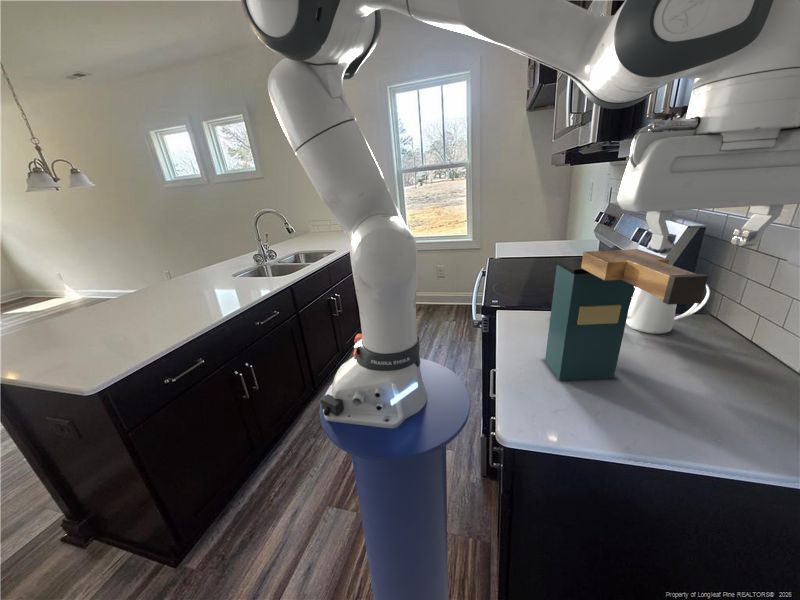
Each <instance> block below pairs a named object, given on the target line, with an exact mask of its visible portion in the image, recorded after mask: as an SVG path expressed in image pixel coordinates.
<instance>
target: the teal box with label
mask: <svg viewBox="0 0 800 600" xmlns="http://www.w3.org/2000/svg"><path fill="white" fill-rule="evenodd" d="M582 258H583V257H568V258H555V261H554V263H555V265H556V268H555V270H556V271H555V276H554V278H555V279H554V285H553V293H552V294H553V295H552V301H551V310H550V318H549V325H548V326H549V327H548V333H547V342H546V350H545V359H544V361H545V363H546V364H547V366H548V367H549V368H550V370H551V372H553V374H554V375H555V377H556V378H557V379H558V380H559V381H572V380H573V381H577V380H601V379H602V380H605V379H615V374H616V370H617V365H618V361H619V355H620V351H621V346H622V343H623V337H624V333H625V329H626V324H627V323H626V320H627V315H628V311H629V306H630V303H631V300H632V297H633V294H634V287H635V286H634V285H632V284H629V283H627V282H625V281H623V280H603V279H601V278H599V277H597V276H595V275H593V274H591V273H590V272H588V271H586V270H584V269H582V268H581V265H582Z"/></svg>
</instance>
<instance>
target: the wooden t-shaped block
mask: <svg viewBox="0 0 800 600" xmlns="http://www.w3.org/2000/svg"><path fill="white" fill-rule="evenodd" d="M581 258H582V265H581V268H582V269H584V270H586V271H588V272H590V273H591V274H593V275H595V276H597V277H599V278H601V279H603V280H623V281H625V282H627V283H629V284H632V285H634V287H635V288H636V287H638V288H640V289H642V290H644V291H646V292H648V293H650V294H652V295H654V296H656V297H658V298H660V299H662V300H663V302H664V303H666V304H668V305H669V304H677V305H687V304H690V305H691V304H695V303H699V304H701V303H702V299H703V295H704V293H705V289H706V284H708V283H707V282H708V279H709V275H707V274H705V273H695V272H692V271H689V270H686V269H683V268H681V267H677V266H674V265H672V264H669V263H670V258H666V257H663V256H660V255H657V254H654V253H651V252H649V251H645V250H642V249H639V248H632V249H612V250H611V249H610V250H593V251H583V253H582V257H581Z"/></svg>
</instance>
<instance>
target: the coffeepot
mask: <svg viewBox="0 0 800 600" xmlns="http://www.w3.org/2000/svg"><path fill="white" fill-rule="evenodd" d="M705 289H706V293H705V296H704V299H703V300H701V303H693V305H692V306H691V307H690V308H689V309H688V310H687V311H684V313H682V314H680V315H677V316H676V311H677V310H676V309H677V306H678V304H669V305H668V304H666V303H664V302H663V300H662V299H660V298H658V297H656V296H654V295H652V294H650V293H648V292H646V291H644V290H642V289H640V288H638V287H636V286H635V289H634V290H633V293H632V297H631V302H630V306H629V311H628V315H627V320H626V324H627V326H629V327H630V328H631V329H633V330H636V331H638V332H641V333H647V334H653V335H660V334H661V335H662V334H667V333H669V332H671V331H672V330H673V328H674V322H675V321H678V320H680V319H681V320H682V319H684V318H688V317H689V316H691V315H694V314H695V313H697V312H698V311H700V310H701V309H702V308H703V307H704V306H705V305H706V303H707V302H708V301H709V299H710V297H711V296H710V295H711V288H710V286H709V285H708V283H706V286H705Z"/></svg>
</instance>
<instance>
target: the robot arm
mask: <svg viewBox="0 0 800 600" xmlns="http://www.w3.org/2000/svg"><path fill="white" fill-rule="evenodd" d="M240 2H241V6H242V9H243V13H244V15H245V18H246V20H247V22H248V25H249V26H250V28H251V29H252V31H253V33H254V34H255V36H256V37H257V38H258V39H259V41H261V42H262V43H263V44H264V45H265V46H266V47H267V48H268V49H270V50H271V51H273V52H274V53H276V54H277V55H280V56H281V57H283V58H282V59H281V60H280V61H278V63H276V64H275V65H274V66H273V68H272V69H271V70H270V73H269V75H268V78H267V79H268V80H267V92H268V95H269V98H270V102H271V105H272V107H273V110H274V112H275V115H276V117H277V119H278V122H279V124H280V126H281V129H282V131H283V133H284V135H285V137H286V139H287V141H288V143H289V145H290V147H291V148H292V149H291V150H292V151H293V152H294V153H295V156H296V158H297V159H298V161H299V163H300V165H301V167H302V168H303V170H304V172H305V174H306V176H307V177H308V179H309V180H310V183H311V184H312V186H313V188H314V189H315V191H316V193H317V195H318V197H319V198H320V200H321V202H322V203H323V204H324V205H325V206H326V208H327V210H328V211H329V212H330V213H331V214H332V216H333V217H334V219H335V221H336V222H337V223H338V225H339V226H340V228H341V230H342V231H343V232H344V234H345V236H346V237H347V239H348V241H349V243H350V246H349V256H350V257H349V258H350V265H351V271H352V277H353V283H354V289H355V290H354V291H355V296H356V301H357V305H358V312H359V321H360V330H361V333H357V334H356V335H355V337H354V340H353V341H354V345H353V356H352V357H351V358H349V359H348V360H346V361H345V362H344V363H343V364H341V365H340V367H338V369H337V371H336V373H335V375H334V378H333V381H332V383H333V384H332V383H331V384H332V385H331V384H330V385H331V386H330V385H329V386H328V388H329V389H328V388H327V389H328V391H327V390H326V391H327V393H326V395H325V396H324V395H323V396H324V397H323V396H322V398H320V405H322V409H323V414H324V417H325V419H326V420H327V421H333V422H341V423H349V424H358V425H366V426H375V427H383V428H391V429H393V428H397V427H398V426H399V425H400V424H401V423H402V422H403V421H404V420H405V419H406V418H408V417H410V416H412V415H414V414H416V413H417V412H418V411H420V410H421V409H422V408H423V407H424V405H425V404H426V401H427V397H428V395H427V391H426V388H425V386H424V383H423V379H422V375H421V370H420V361H421V359H422V351H421V342H420V337H419V335H418V324H417V290H418V289H417V288H418V244H417V240H416V238H415V236H414V234H413V233H412V231H411V230H410V229H409V227H408V226H407V224H406V223H405V221H404V219H403V217H402V215H401V212H400V211H399V208H398V206H397V204H396V202H395V200H394V198H393V196H392V194H391V191H390V189H389V187H388V185H387V182H386V180H385V177H384V176H383V172H382V171H381V168H380V167H379V164H378V162H377V161H376V158H375V156H374V154H373V152H372V150H371V148H370V146H369V144H368V141H367V140H366V137H365V135H364V132H363V131H362V129H361V127H360V124H359V122H358V120H357V118H356V117H355V114H354V112H353V110H352V108H351V106H350V104H349V102H348V100H347V97H346V94H345V91H344V86H343V82H344V81H343V80H351V79H352V78H354V77H355V75H356V73H357V72H358V71H359V69H360V68H361V66H362V64H363V63H364V62H365V61H366V60H367V58H368V57H369V56H370V55H371V54H372V53H373V51H374V49H375V48H376V46H377V44H378V42H379V38H380V36H381V30H382V14H381V10H382V9H383V10H384V9H386V10H391V11H394V12H397V13H400V14H402V15H404V16H407V17H410V18H412V19H415V20H417V21H420V22H423V23H426V24H429V25H432V26H435V27H439V28H441V29H446V30H449V31H453V32H457V33H460V34H464V35H467V36H471V37H474V38H477V39H480V40H483V41H486V42H490V43H492V44H493V43H494V44H496V45H499V46H502V47H504V48H505V49H508V50H510V51H512V52H514V53H517V54H519V55H521V56H524V57H526V58H528V59H531V60H533V61H535V62H537V63H539V64H542V65H544V66H546V67H549V68H550V69H553V70H556V71H558V72H559V73H562V74H563V75H565V76H567V77H569V78H570V79H571V80H572V81H573V82H574V83H575V84H576V85H577V87H579V89H580V90H581V92H582V93H583V94H584V95H585V96H586V97H587V99H588V100H589V101H590V102H592V103H593V104H594V105H597V106H598V107H601V108H603V109H608V110H619V109H620V110H621V109H626V108H628V107H632V106H635V105H637V104H638V103H640V102H642V101H643V100H646V98H648V97H650V95H652V94H653V93H655V92H656V91H657V90H659V89H660V88H662V87H665V86H666V85H669V84H671V82H673V81H675V80H680V79H681V80H682V79H690V80H691V81H692V82H693V86H692V90H691V94H690V99H689V103H688V107H687V111H686V115H685V117H684V118H676V119H669V120H667V119H658V120H657V119H656V120H653V121H651V122H649V124H648V125H645V126H644V127H643V128H641V129H639V131H637V133H636V134H635V135H634V137H633V138H632V140H631V145H630V151H629V160H628V162H627V165H626V167H625V170H624V173H623V176H622V179H621V183H620V186H619V190H618V194H617V200H616V201H617V204H618V205H619V207H620V209H621V210H623V211H628V212H633V213H646V216H645V221H646V223H647V226H648V227H649V230H650V232H651V234H652V235H651V239H650V243H649V246H650V248H651V249H653V250H656V251H663V250H664V251H665V250H672V249H673V248H674V247H675V243H674V242H675V241H676V239H677V234H675V233H674V234H673V233H670V231H669V228H668V224H667V222H666V221H671V220H672V218H673V214H674V211H689V210H690V211H691V210H706V209H707V210H709V209H726V208H727V209H728V208H748V207H750V209H749V211H748V214H749V215H750V214H751V215H752V216H751V217H750V218H748V220H747V221H746V222H745V224H744V225H743V226H742V227H741V228H734V230H733V233H732V238H731V240H730V243H731V244H732V245H734V246H738V247H754V246H757V245H758V244H759V242H760V240H761V238H762V234H763V232H764V231H766V230H767V228H768V227H769V226H771V225H772V224H773V223H774V222H775V221H776V220H777V219H778V218H779V217H780V216H781V214H782V212H783V209H784V206H787V205H789V206H790V205H800V0H624V2H623V3H622V4H621V6H620V7H619V8H618V10H617V11H616V12H615V14H613V15H600V14H597V13H595V12H592V11H590V10H588V9H585V8H584V7H582V6H579V5H577V4H575V3H572V2H571V1H568V0H240ZM646 131H648V132H646ZM387 421H388V422H387Z"/></svg>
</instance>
